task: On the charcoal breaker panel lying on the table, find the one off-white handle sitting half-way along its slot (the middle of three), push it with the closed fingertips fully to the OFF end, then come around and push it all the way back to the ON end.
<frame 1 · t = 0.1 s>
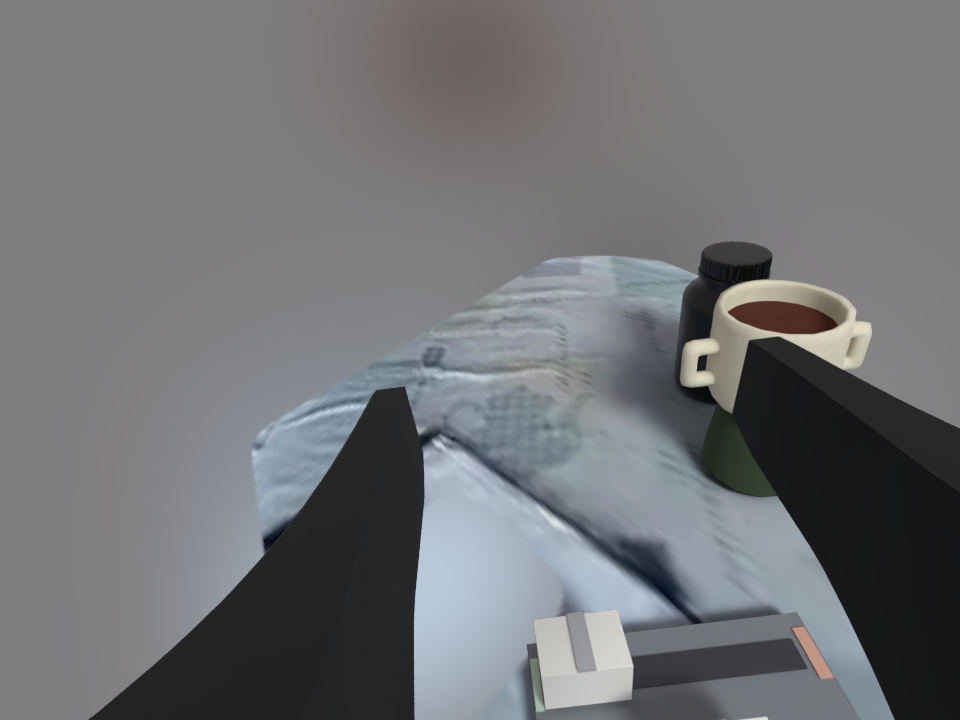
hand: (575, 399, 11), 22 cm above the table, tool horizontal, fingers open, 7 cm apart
breaker 1: (581, 658, 24), point 3 cm above the table, slide at 8.5 cm
supplement bottle: (715, 385, 45), on the table
character mug: (748, 470, 37), on the table
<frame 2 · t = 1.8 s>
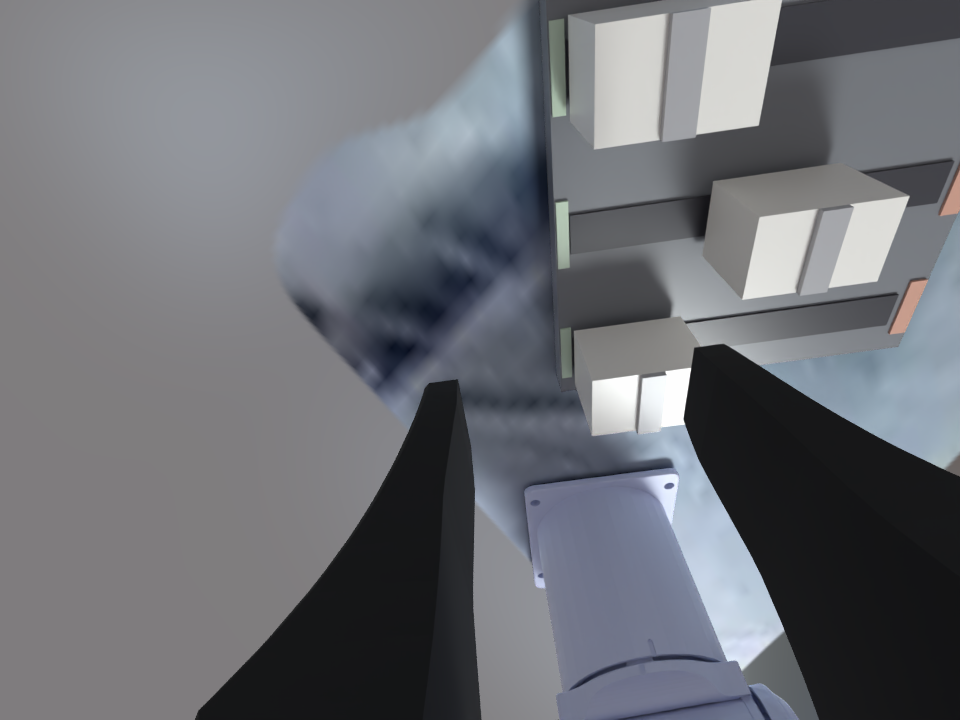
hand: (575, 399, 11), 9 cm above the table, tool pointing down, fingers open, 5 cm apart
panel: (745, 194, 18), on the table
breaker 1: (661, 68, 13), point 3 cm above the table, slide at 8.5 cm
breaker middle: (794, 231, 16), point 3 cm above the table, slide at 4.0 cm
breaker 2: (637, 376, 19), point 3 cm above the table, slide at 8.5 cm
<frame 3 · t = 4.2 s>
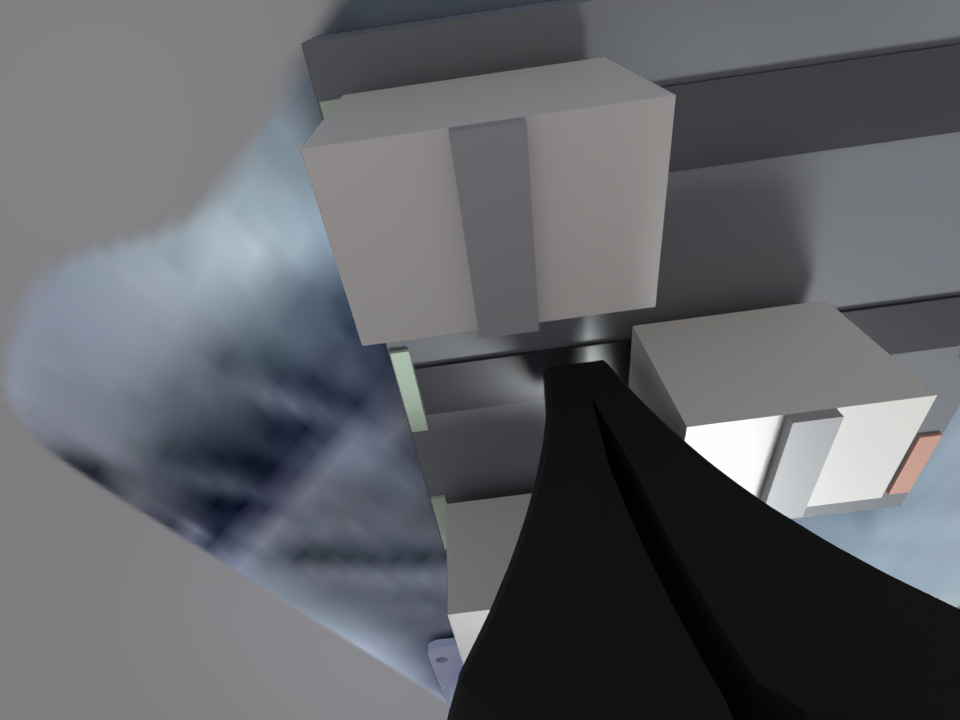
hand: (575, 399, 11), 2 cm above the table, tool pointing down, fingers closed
panel: (682, 324, 13), on the table
breaker 1: (489, 196, 7), point 3 cm above the table, slide at 8.5 cm
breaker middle: (753, 411, 10), point 3 cm above the table, slide at 3.8 cm, touching gripper
breaker 2: (531, 576, 13), point 3 cm above the table, slide at 8.5 cm
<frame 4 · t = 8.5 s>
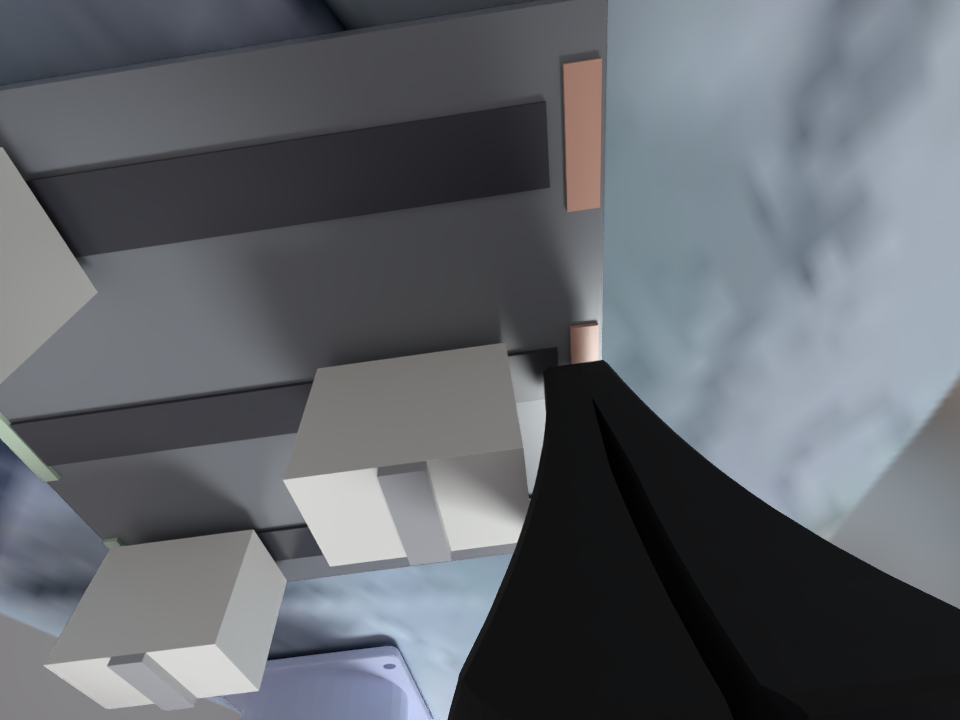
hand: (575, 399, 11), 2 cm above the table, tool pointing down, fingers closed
panel: (311, 374, 13), on the table
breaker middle: (420, 454, 10), point 3 cm above the table, slide at 1.1 cm, touching gripper
breaker 2: (180, 620, 14), point 3 cm above the table, slide at 8.5 cm
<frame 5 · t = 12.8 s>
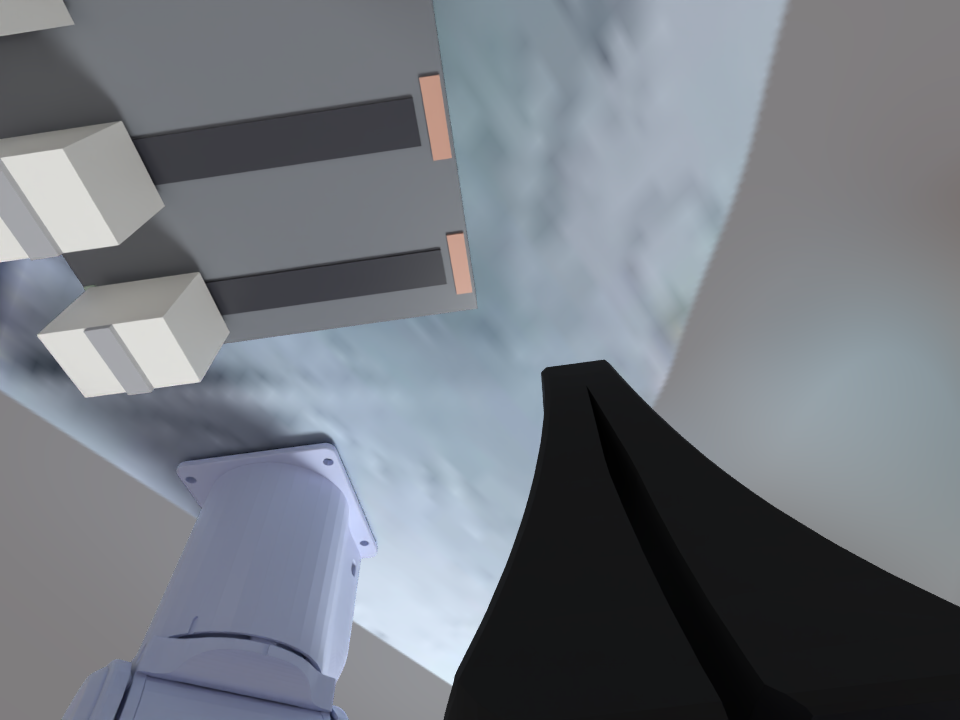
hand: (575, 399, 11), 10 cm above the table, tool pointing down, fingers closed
panel: (240, 140, 17), on the table
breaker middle: (50, 192, 15), point 3 cm above the table, slide at 8.5 cm
breaker 2: (142, 335, 18), point 3 cm above the table, slide at 8.5 cm
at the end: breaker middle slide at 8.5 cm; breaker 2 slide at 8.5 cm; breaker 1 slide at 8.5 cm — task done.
